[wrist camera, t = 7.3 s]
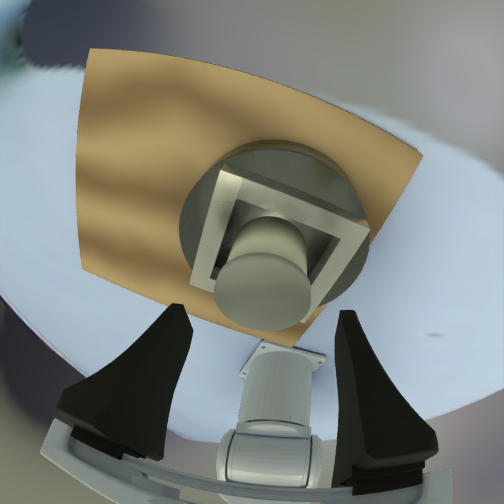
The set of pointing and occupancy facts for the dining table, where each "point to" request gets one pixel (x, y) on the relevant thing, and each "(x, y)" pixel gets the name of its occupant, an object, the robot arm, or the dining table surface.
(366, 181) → the board
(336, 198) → the grey round socket base
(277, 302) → the flanged cap
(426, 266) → the dining table surface
